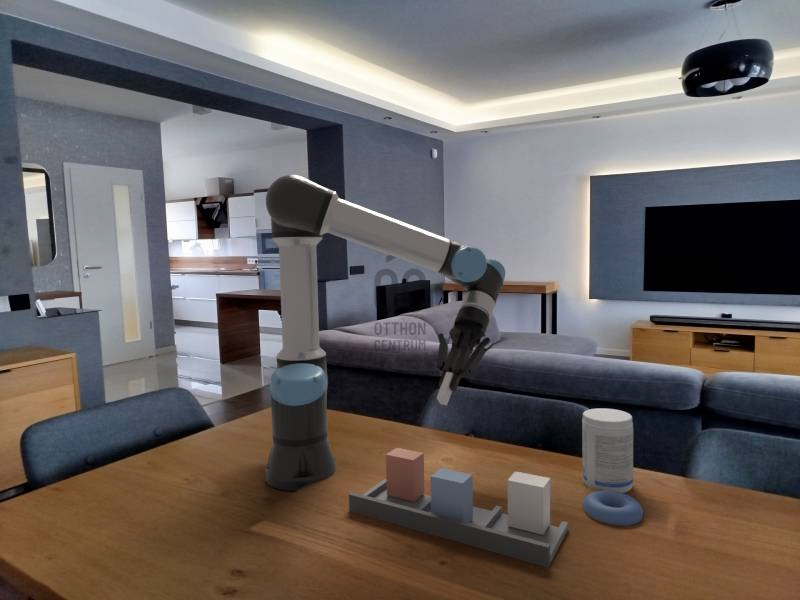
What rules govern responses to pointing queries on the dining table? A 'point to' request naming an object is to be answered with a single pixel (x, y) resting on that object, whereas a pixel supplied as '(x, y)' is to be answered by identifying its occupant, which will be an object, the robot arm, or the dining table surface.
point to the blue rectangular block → (452, 494)
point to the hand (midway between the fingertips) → (441, 401)
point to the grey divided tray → (462, 525)
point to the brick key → (405, 474)
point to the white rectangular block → (529, 502)
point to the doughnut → (613, 508)
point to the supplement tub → (607, 449)
